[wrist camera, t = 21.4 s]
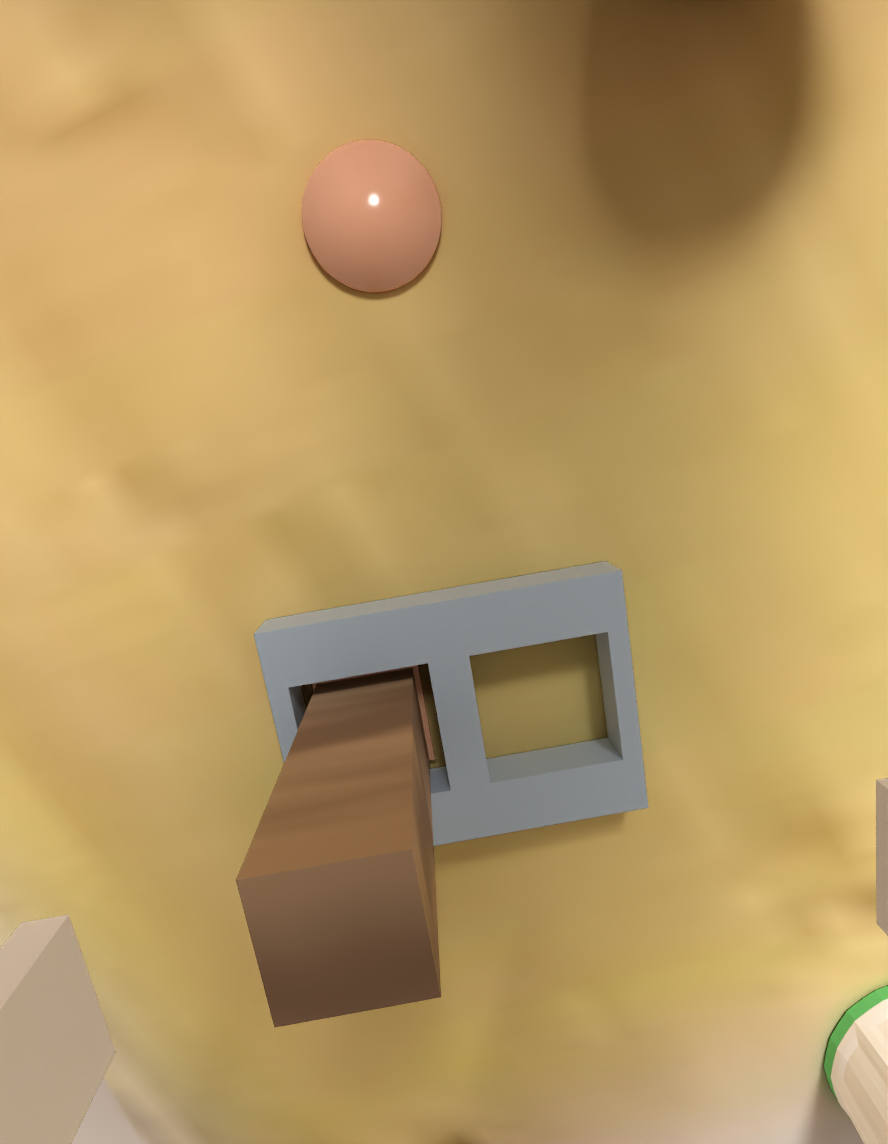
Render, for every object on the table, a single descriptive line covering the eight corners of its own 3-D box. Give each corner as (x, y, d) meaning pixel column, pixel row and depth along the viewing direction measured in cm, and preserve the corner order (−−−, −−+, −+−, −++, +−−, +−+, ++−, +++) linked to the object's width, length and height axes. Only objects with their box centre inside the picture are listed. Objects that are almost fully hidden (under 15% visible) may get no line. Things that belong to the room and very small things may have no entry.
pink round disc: (289, 154, 22) (288, 151, 22) (428, 131, 22) (428, 128, 22) (318, 302, 23) (317, 301, 23) (451, 280, 23) (451, 279, 23)
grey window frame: (266, 619, 26) (253, 633, 24) (605, 560, 26) (621, 570, 24) (316, 838, 27) (308, 868, 26) (631, 782, 28) (648, 807, 26)
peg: (316, 684, 26) (236, 880, 14) (412, 667, 26) (412, 848, 14) (335, 772, 27) (274, 1027, 15) (429, 756, 27) (441, 997, 15)
